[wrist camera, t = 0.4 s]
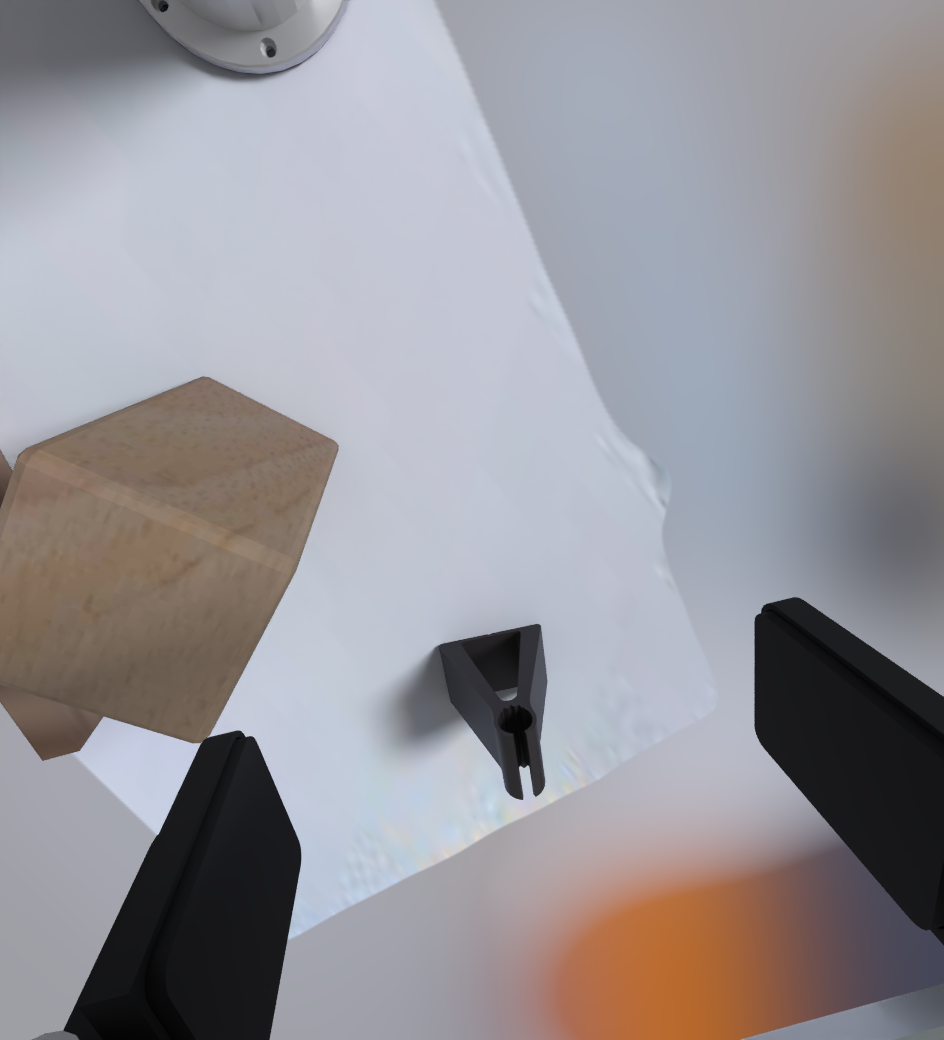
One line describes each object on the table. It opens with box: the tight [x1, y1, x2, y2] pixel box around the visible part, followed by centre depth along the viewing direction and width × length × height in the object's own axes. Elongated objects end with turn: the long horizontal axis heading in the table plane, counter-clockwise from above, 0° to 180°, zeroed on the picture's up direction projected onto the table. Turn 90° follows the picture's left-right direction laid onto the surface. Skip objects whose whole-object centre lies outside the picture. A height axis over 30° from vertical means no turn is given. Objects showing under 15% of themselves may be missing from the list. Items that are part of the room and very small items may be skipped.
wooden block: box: [0, 377, 338, 743], centre depth 30 cm, size 10×10×20 cm
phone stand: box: [439, 624, 547, 800], centre depth 43 cm, size 9×6×12 cm, turn 98°
